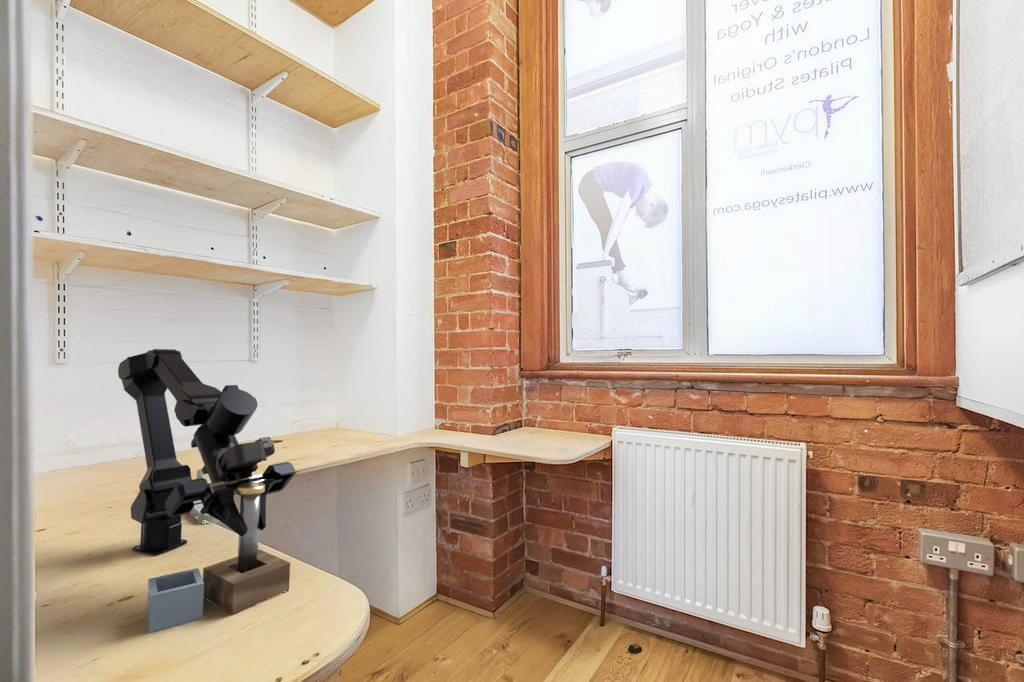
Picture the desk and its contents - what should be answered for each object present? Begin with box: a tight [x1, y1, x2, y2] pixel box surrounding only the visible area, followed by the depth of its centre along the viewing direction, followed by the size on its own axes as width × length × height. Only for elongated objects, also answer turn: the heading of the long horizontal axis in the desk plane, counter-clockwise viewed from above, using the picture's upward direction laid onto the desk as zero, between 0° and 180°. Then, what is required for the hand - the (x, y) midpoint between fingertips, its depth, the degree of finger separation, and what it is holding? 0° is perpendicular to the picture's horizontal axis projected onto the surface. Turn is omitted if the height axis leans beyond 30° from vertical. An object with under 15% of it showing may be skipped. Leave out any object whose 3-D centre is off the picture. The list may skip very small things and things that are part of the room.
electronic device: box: [188, 468, 222, 525], centre depth 112 cm, size 5×10×15 cm
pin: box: [236, 482, 265, 574], centre depth 77 cm, size 4×4×14 cm
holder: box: [146, 567, 204, 634], centre depth 70 cm, size 6×6×5 cm
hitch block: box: [202, 548, 291, 616], centre depth 77 cm, size 9×9×4 cm
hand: (253, 531), depth 77 cm, fingers closed on pin, 3 cm apart
